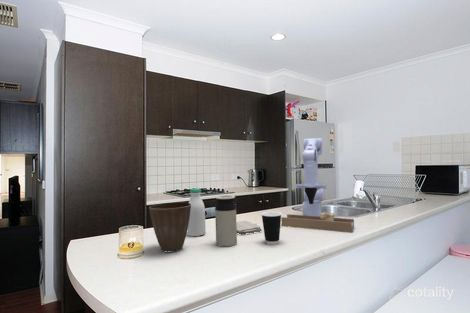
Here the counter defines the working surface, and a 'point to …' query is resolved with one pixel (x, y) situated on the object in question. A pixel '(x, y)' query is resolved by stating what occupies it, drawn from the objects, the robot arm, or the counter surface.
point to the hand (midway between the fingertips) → (311, 203)
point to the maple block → (327, 216)
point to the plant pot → (170, 224)
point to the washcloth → (247, 227)
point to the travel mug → (225, 221)
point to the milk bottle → (196, 214)
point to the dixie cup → (271, 226)
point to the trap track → (318, 223)
